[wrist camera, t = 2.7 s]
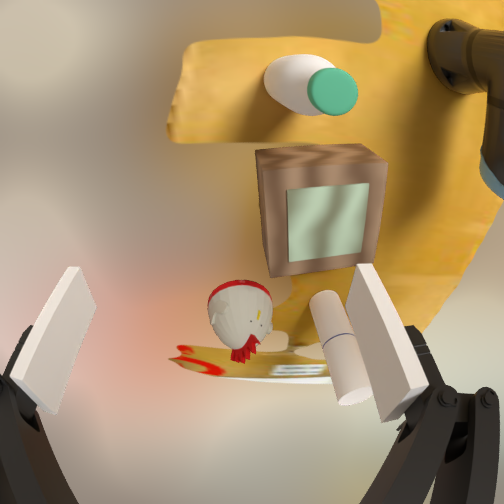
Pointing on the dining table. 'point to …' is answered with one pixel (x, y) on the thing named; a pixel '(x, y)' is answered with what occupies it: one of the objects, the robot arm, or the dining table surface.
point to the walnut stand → (319, 206)
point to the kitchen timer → (241, 316)
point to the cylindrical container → (340, 349)
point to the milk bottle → (310, 85)
